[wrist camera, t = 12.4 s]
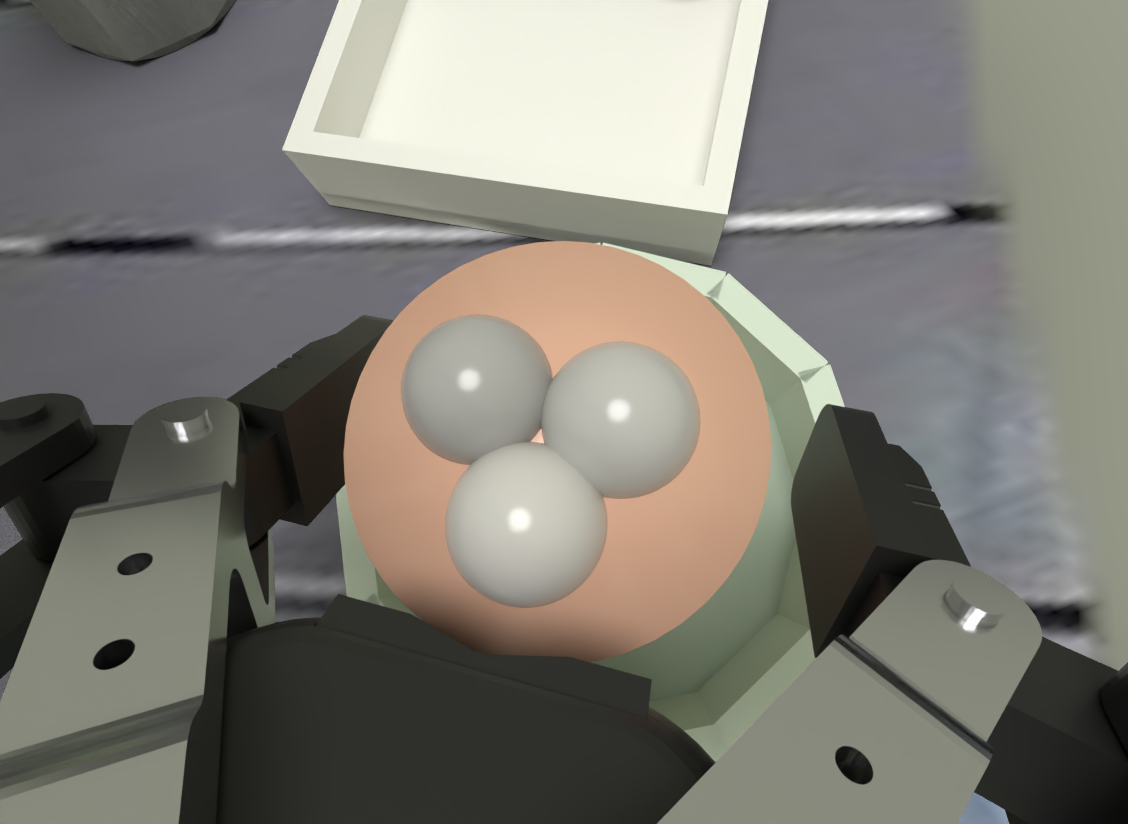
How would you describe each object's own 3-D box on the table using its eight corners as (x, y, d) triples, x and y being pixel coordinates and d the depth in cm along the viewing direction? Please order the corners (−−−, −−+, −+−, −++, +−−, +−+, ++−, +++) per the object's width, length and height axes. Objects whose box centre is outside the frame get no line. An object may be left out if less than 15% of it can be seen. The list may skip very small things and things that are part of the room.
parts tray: (329, 205, 21) (266, 131, 17) (433, -88, 24) (398, -205, 20) (711, 265, 19) (733, 197, 15) (774, -64, 22) (806, -189, 18)
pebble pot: (519, 611, 16) (330, 731, 6) (488, 432, 18) (287, 260, 7) (704, 573, 16) (866, 623, 5) (658, 393, 17) (714, 156, 7)
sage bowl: (424, 772, 16) (371, 832, 13) (370, 352, 19) (316, 311, 16) (880, 681, 15) (952, 720, 12) (745, 263, 19) (773, 200, 15)
